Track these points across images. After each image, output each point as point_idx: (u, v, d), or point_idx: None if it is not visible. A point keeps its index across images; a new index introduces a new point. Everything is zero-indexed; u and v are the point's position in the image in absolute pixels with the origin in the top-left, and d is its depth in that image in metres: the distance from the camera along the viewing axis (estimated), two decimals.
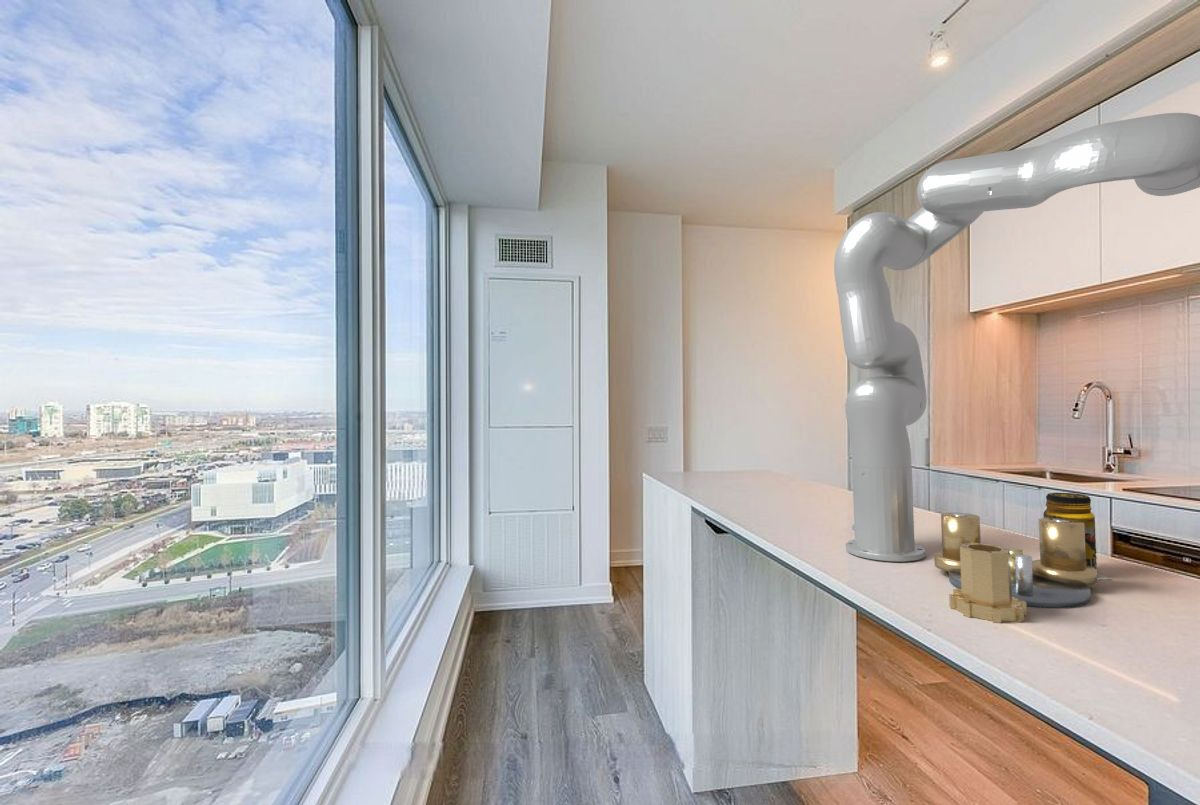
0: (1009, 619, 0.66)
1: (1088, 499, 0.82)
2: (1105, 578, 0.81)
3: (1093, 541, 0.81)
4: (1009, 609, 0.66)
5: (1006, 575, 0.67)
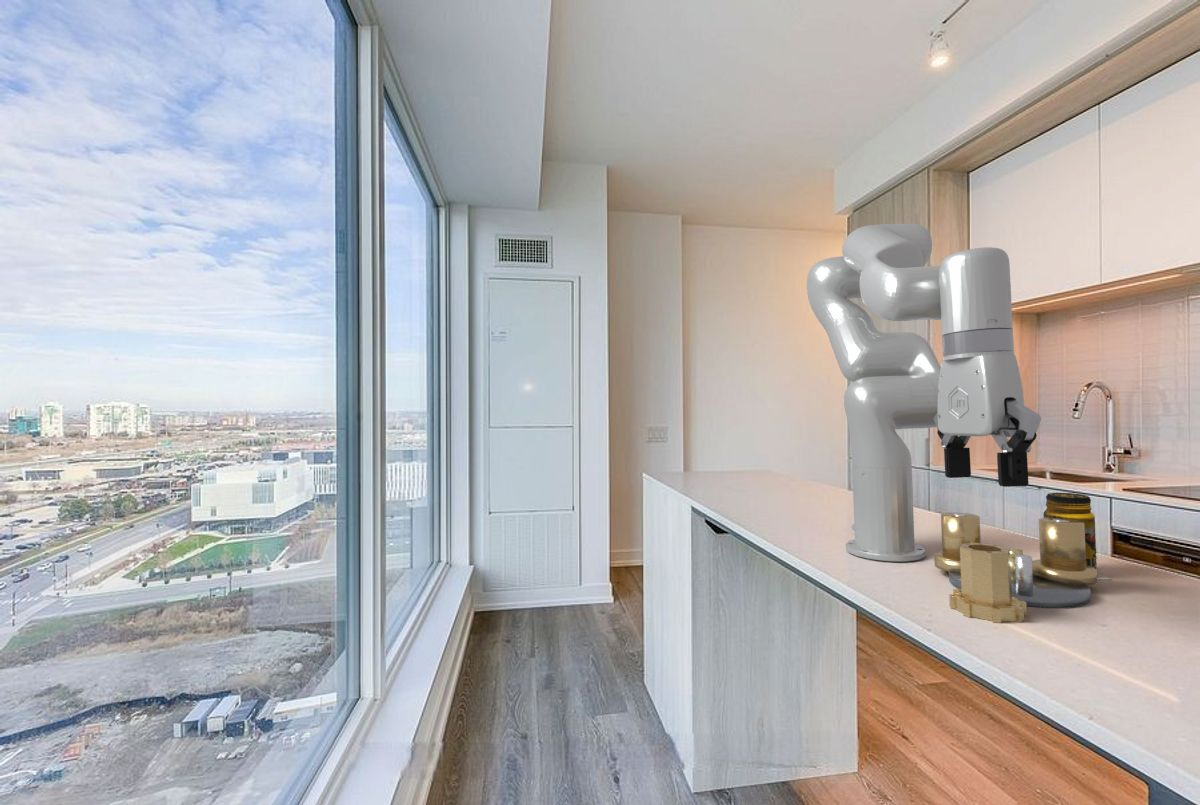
0: (1009, 619, 0.66)
1: (1088, 499, 0.82)
2: (1105, 578, 0.81)
3: (1093, 541, 0.81)
4: (1009, 609, 0.66)
5: (1006, 575, 0.67)
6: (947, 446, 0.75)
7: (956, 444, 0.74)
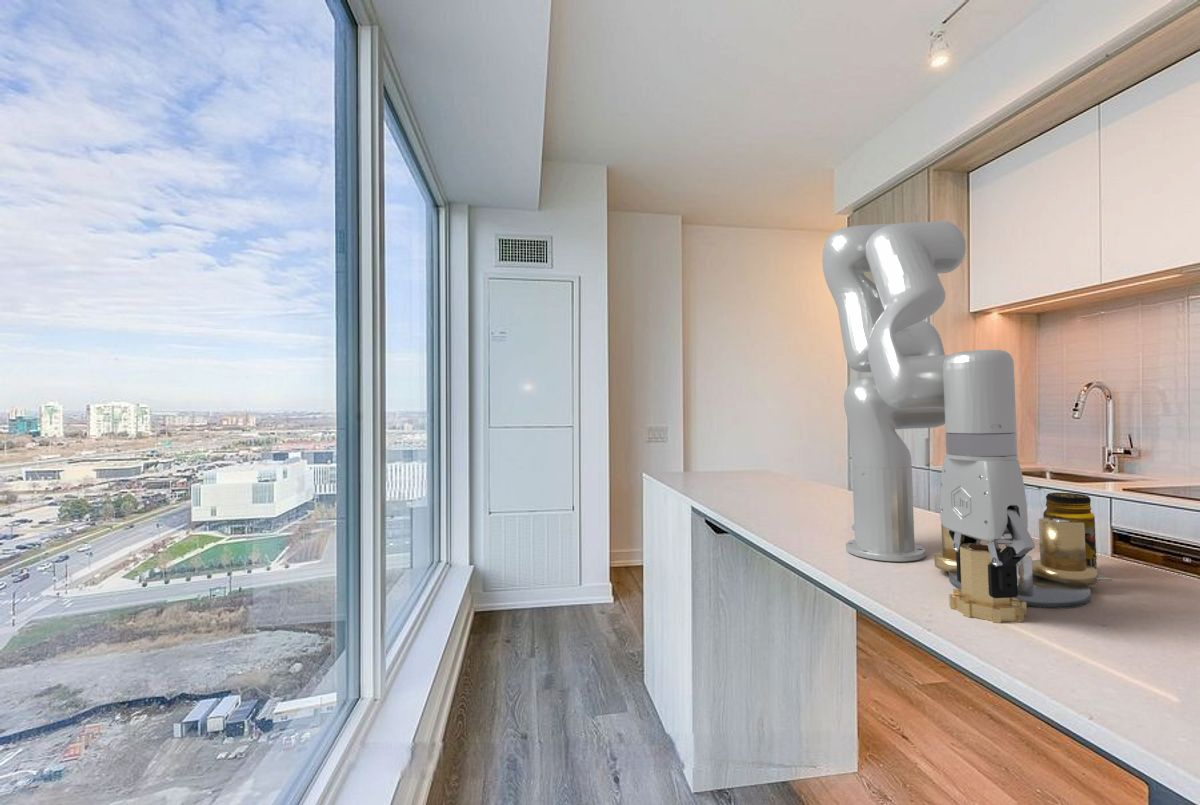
0: (1009, 619, 0.66)
1: (1088, 499, 0.82)
2: (1105, 578, 0.81)
3: (1093, 541, 0.81)
4: (1009, 609, 0.66)
5: None
6: None
7: None
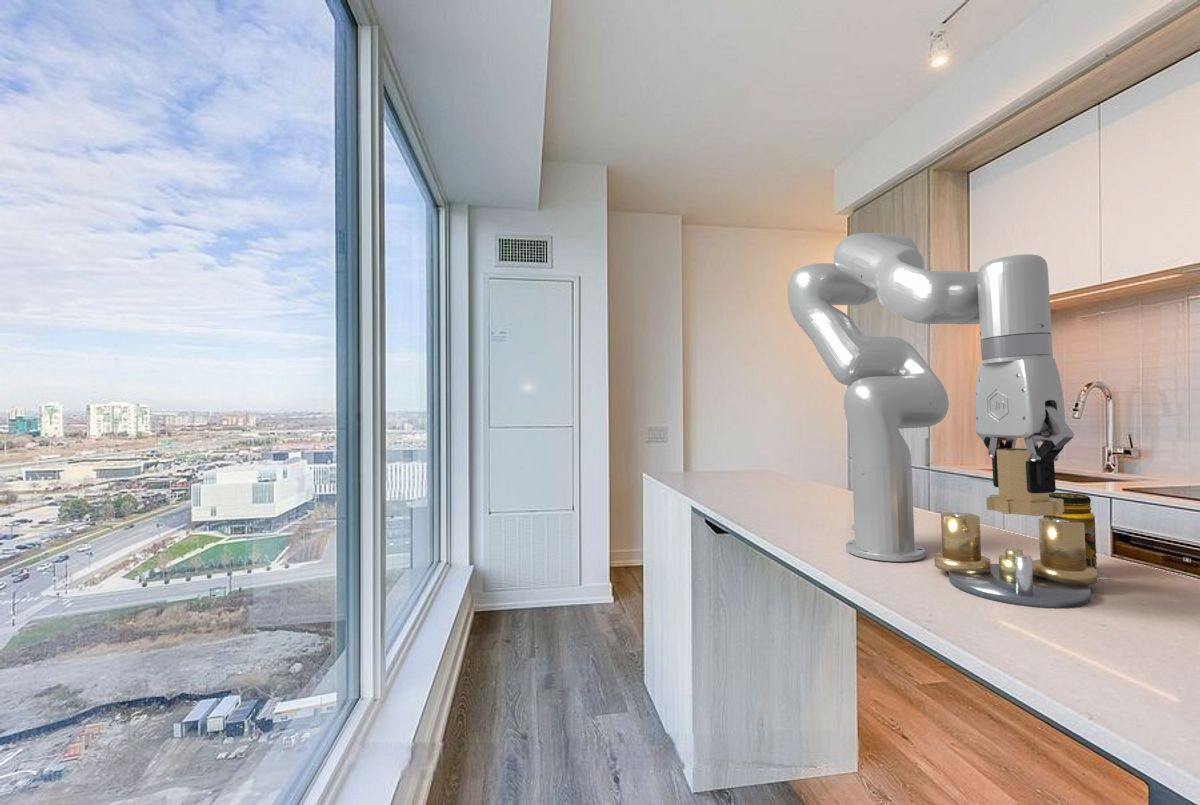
0: (1048, 513, 0.68)
1: (1088, 499, 0.82)
2: (1105, 578, 0.81)
3: (1093, 541, 0.81)
4: (1048, 503, 0.68)
5: None
6: (996, 454, 0.75)
7: None
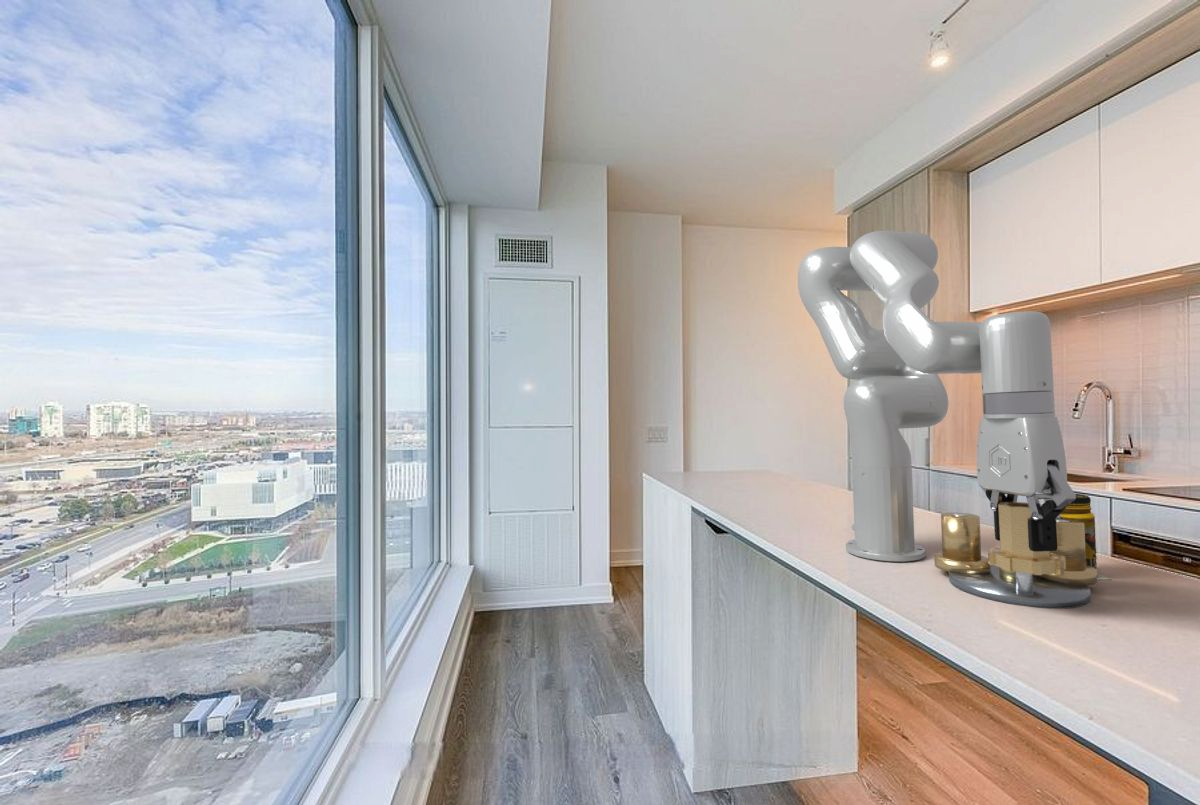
0: (1049, 572, 0.68)
1: (1088, 499, 0.82)
2: (1105, 578, 0.81)
3: (1093, 541, 0.81)
4: (1049, 562, 0.68)
5: None
6: (997, 507, 0.75)
7: None
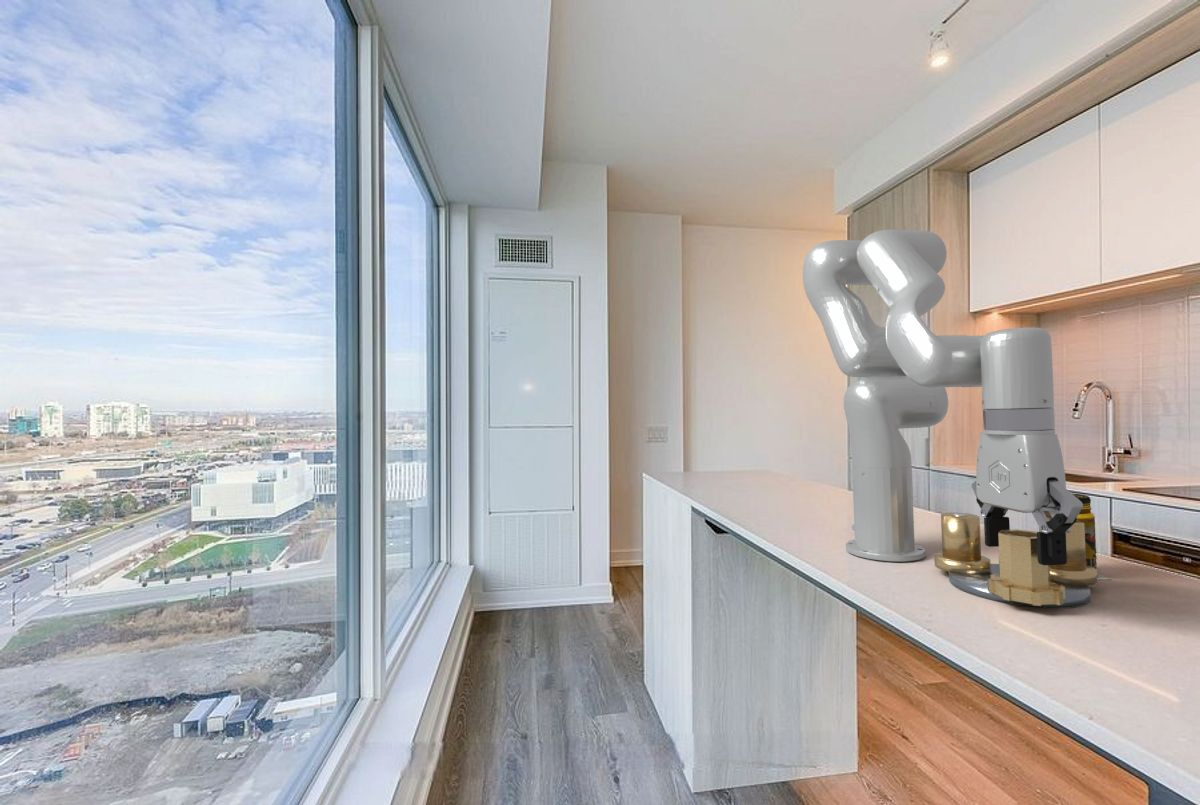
0: (1048, 602, 0.68)
1: (1088, 499, 0.82)
2: (1105, 578, 0.81)
3: (1093, 541, 0.81)
4: (1048, 592, 0.68)
5: None
6: (987, 515, 0.77)
7: (996, 514, 0.76)
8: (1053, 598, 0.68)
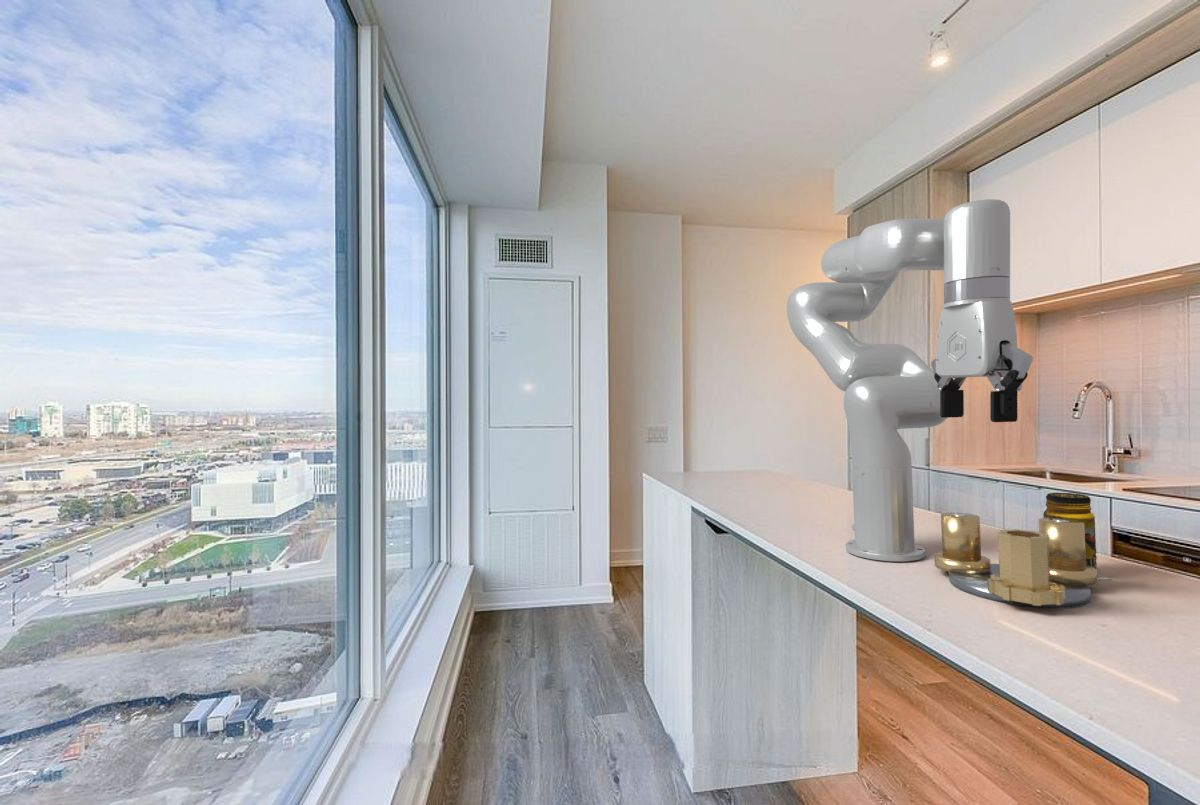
0: (1048, 602, 0.68)
1: (1088, 499, 0.82)
2: (1105, 578, 0.81)
3: (1093, 541, 0.81)
4: (1048, 592, 0.68)
5: (1045, 560, 0.69)
6: (943, 388, 0.81)
7: (951, 386, 0.80)
8: (1053, 598, 0.68)
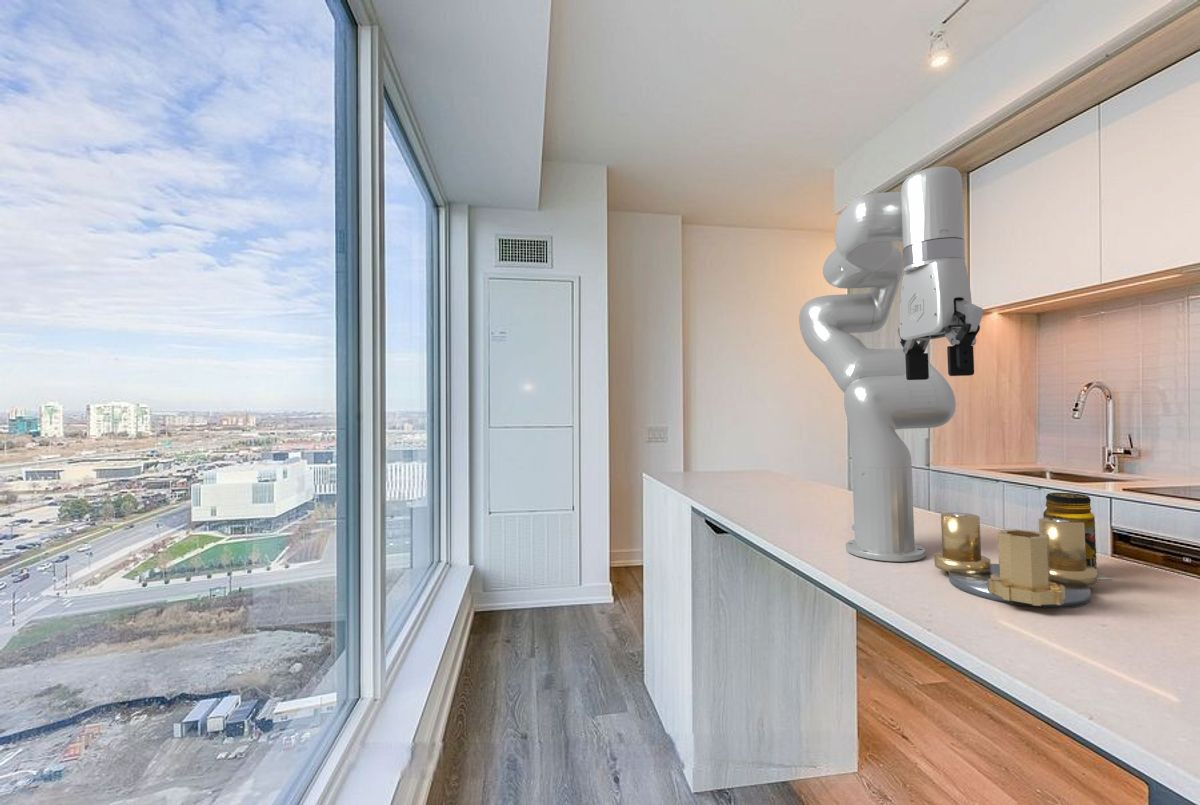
0: (1048, 602, 0.68)
1: (1088, 499, 0.82)
2: (1105, 578, 0.81)
3: (1093, 541, 0.81)
4: (1048, 592, 0.68)
5: (1045, 560, 0.69)
6: (908, 352, 0.83)
7: (916, 350, 0.83)
8: (1053, 598, 0.68)
